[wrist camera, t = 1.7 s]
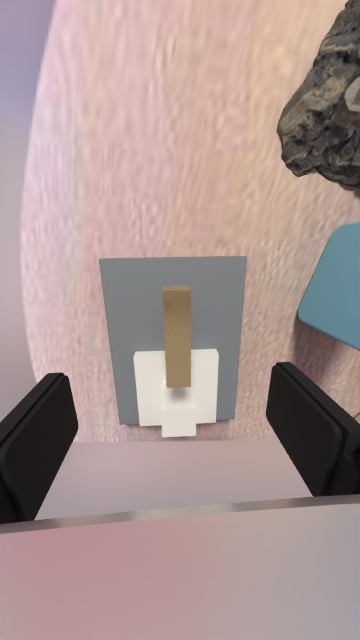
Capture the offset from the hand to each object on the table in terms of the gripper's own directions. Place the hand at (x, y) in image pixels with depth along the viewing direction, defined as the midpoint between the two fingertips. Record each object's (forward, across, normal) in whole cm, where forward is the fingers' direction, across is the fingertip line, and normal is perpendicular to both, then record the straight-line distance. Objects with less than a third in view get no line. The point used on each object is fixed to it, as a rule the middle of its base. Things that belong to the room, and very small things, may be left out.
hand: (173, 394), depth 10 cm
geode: (+19, -22, -20) cm, 35 cm away
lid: (+15, -1, +10) cm, 19 cm away
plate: (+18, -1, +6) cm, 19 cm away
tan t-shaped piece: (+15, -1, +2) cm, 15 cm away
